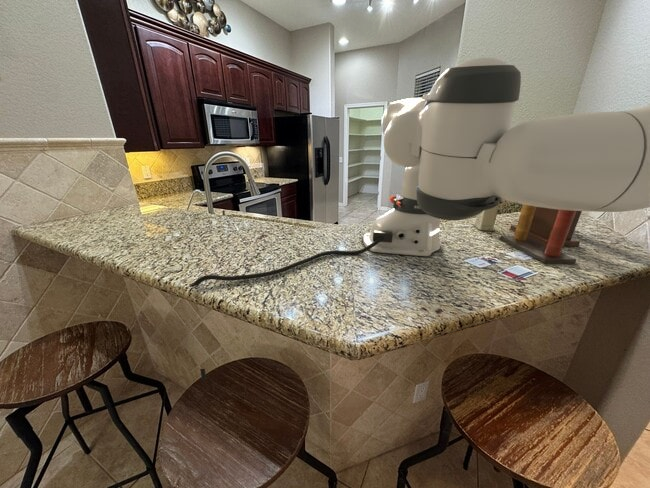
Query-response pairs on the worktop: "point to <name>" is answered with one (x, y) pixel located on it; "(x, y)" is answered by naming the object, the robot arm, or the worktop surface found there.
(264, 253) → the worktop surface
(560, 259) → the rod stand
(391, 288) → the worktop surface
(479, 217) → the cosmetic box
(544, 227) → the walnut pedestal
